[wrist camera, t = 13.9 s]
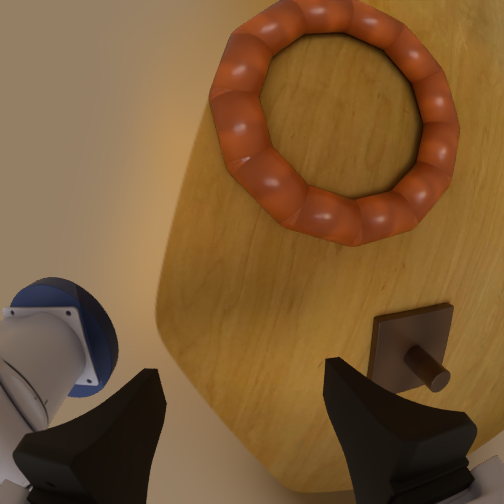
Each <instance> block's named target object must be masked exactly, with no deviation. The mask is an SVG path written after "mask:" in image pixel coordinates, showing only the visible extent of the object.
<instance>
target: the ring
mask: <svg viewBox="0 0 504 504" xmlns="http://www.w3.org/2000/svg"><path fill="white" fill-rule="evenodd" d="M330 32H345V33H347V34H349V35H352V36H354V37H356V38H358V39H361V40H363V41H365V42H367V43H369V44H371V45H374V46H376V47H378V48H380V49H382V50H383V51H384V52H385V53H386V54H387V55H388V56H389V57H390V58H391V60H392V61H393V62H394V63H395V64H396V65H397V67H398V68H399V69H400V70H401V71H402V72H403V74H404V75H405V76H406V77H407V78H408V80H409V81H410V82H411V83H412V86H413V89H414V93H415V96H416V99H417V103H418V106H419V110H420V113H421V117H422V121H423V131H422V136H421V142H420V147H419V152H418V157H417V161H416V164H415V165H414V166H413V167H412V169H411V170H410V171H409V172H408V173H407V174H406V175H405V176H404V177H403V178H402V180H401V181H400V182H399V183H398V184H397V185H396V186H395V187H394V188H393V189H392V190H391V191H388V192H384V193H380V194H376V195H371V196H367V197H363V198H359V199H355V200H352V199H349V198H346V197H343V196H341V195H338V194H335V193H332V192H329V191H326V190H323V189H320V188H317V187H314V186H311V185H308V183H307V182H306V181H305V180H304V179H303V178H302V177H301V176H300V175H299V174H298V173H297V172H296V170H295V169H294V168H293V167H292V166H291V165H290V164H289V163H288V162H287V161H286V160H285V159H284V158H283V157H282V156H281V155H280V154H279V153H278V151H277V150H276V149H275V148H274V147H273V146H272V143H271V139H270V135H269V131H268V128H267V124H266V120H265V117H264V113H263V110H262V106H261V102H260V99H259V96H260V93H261V90H262V87H263V84H264V80H265V77H266V74H267V71H268V68H269V65H270V62H271V59H272V57H273V56H274V55H275V54H276V53H278V52H279V51H281V50H282V49H283V48H285V47H286V46H287V45H289V44H290V43H291V42H293V41H294V40H296V39H297V38H299V37H300V36H301V35H303V34H312V33H330ZM209 104H210V107H211V111H212V115H213V119H214V123H215V127H216V131H217V134H218V138H219V142H220V146H221V150H222V154H223V157H224V161H225V165H226V168H227V170H228V172H229V173H230V174H231V175H232V176H233V177H234V178H235V179H236V180H237V181H238V182H239V184H240V185H241V186H242V187H243V188H244V189H245V190H246V191H247V192H248V193H249V194H250V195H251V196H252V197H253V198H254V199H255V200H256V201H257V202H258V203H259V204H260V205H261V206H262V207H263V208H264V209H265V210H266V211H267V212H268V213H269V214H270V215H271V216H272V217H273V218H274V219H275V220H276V221H277V222H278V223H279V224H280V225H281V226H283V227H284V228H286V229H289V230H293V231H296V232H300V233H303V234H307V235H310V236H314V237H317V238H321V239H324V240H328V241H331V242H334V243H338V244H341V245H345V246H349V247H356V246H360V245H364V244H367V243H371V242H374V241H377V240H381V239H384V238H387V237H391V236H394V235H397V234H401V233H404V232H407V231H410V230H412V229H414V228H415V227H416V226H417V225H418V224H419V223H420V221H421V220H422V219H423V218H424V217H425V216H426V214H427V213H428V212H429V211H430V210H431V208H432V207H433V206H434V205H435V204H436V202H437V201H438V200H439V199H440V197H441V196H442V195H443V194H444V193H445V191H446V190H447V189H448V187H449V186H450V184H451V181H452V176H453V171H454V165H455V160H456V154H457V148H458V141H459V134H460V124H459V120H458V116H457V112H456V109H455V105H454V101H453V98H452V94H451V91H450V88H449V85H448V82H447V79H446V76H445V73H444V71H443V69H442V68H441V66H440V65H439V64H438V62H437V61H436V60H435V59H434V57H433V56H432V55H431V54H430V52H429V51H428V50H427V49H426V47H425V46H424V45H423V44H422V43H421V42H420V40H419V39H418V38H417V37H416V36H415V35H414V34H413V32H412V31H411V30H410V29H409V28H408V27H407V26H406V25H405V24H404V23H402V22H400V21H399V20H397V19H395V18H393V17H391V16H389V15H387V14H385V13H383V12H381V11H379V10H377V9H375V8H373V7H371V6H369V5H367V4H365V3H363V2H360V1H358V0H280V1H278V2H276V3H275V4H273V5H271V6H270V7H268V8H267V9H265V10H264V11H262V12H260V13H259V14H258V15H256V16H255V17H253V18H251V19H250V20H249V21H247V22H246V23H244V24H243V25H241V26H240V27H239V28H237V29H236V30H235V31H234V32H233V33H232V34H231V36H230V37H229V40H228V42H227V45H226V48H225V50H224V53H223V56H222V58H221V61H220V64H219V66H218V69H217V72H216V75H215V78H214V80H213V83H212V86H211V89H210V93H209Z"/></svg>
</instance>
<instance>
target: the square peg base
mask: <svg viewBox="0 0 504 504" xmlns="http://www.w3.org/2000/svg"><path fill="white" fill-rule="evenodd" d="M453 309H454V306H453V305H451V304H449V303H444V304H440V305H435V306H431V307H426V308H421V309H417V310H412V311H407V312H401V313H396V314H391V315H385V316H380V317H375V318H374V325H373V335H372V344H371V352H370V360H369V367H368V374H367V378H368V379H370V380H371V381H373V382H374V383H376V384H378V385H379V386H381V387H383V388H384V389H386V390H388V391H390V392H392V393H394V394H397V393H400V392H403V391H407V390H410V389H413V388H416V387H419V386H422V385H426V386H427V387H428V388H429V389H430V390H431V391H432V392H439V391H441V390H442V389H443V388H444V387H445V386H446V385H447V384H448V382H449V380H450V372H449V371H448V370H447V369H445V368H444V367H443V366H442V362H443V358H444V354H445V350H446V345H447V341H448V336H449V331H450V326H451V321H452V315H453Z"/></svg>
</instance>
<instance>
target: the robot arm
mask: <svg viewBox="0 0 504 504" xmlns="http://www.w3.org/2000/svg"><path fill="white" fill-rule="evenodd" d="M13 311H14V313H13ZM68 311H70V312H71V314H69V313H68ZM3 314H4V318H5V319H3V320H2V321H0V504H146V499H147V489H148V482H149V475H150V469H151V464H152V460H153V457H154V453H155V450H156V447H157V444H158V440H159V437H160V433H161V430H162V427H163V424H164V419H165V412H166V405H167V403H166V400H165V396H164V392H163V389H162V385H161V381H160V377H159V373H158V369H145V368H144V369H143V370H142V371H141V372H139V373H138V374H137V375H136V376H135V377H134V378H133V379H131V380H130V381H129V382H128V383H127V384H126V385H124V386H123V387H122V388H121V389H120V390H119V391H117V392H116V393H115V394H113V395H112V396H111V397H109V398H108V399H107V400H106V401H105V402H103V403H101V404H100V405H99V406H97V407H96V408H94V409H92V410H90V411H89V412H87V413H85V414H83V415H81V416H79V417H77V418H75V419H73V420H71V421H69V422H66V423H64V424H61V425H59V426H55V427H52V428H48V426H49V424H50V423H51V421H52V419H53V418H54V416H55V415H56V413H57V411H58V410H59V408H60V406H61V405H62V403H63V402H64V400H65V399H66V397H67V396H68V394H69V392H70V391H71V389H72V388H73V386H74V385H75V384H79V385H92V386H97V385H98V384H99V382H100V380H99V377H98V374H97V371H96V368H95V365H94V362H93V359H92V355H91V352H90V349H89V345H88V342H87V338H86V335H85V331H84V327H83V324H82V320H81V316H80V312H79V309H78V308H77V307H74V306H65V307H5V308H3ZM89 379H90V380H91V381H89ZM323 397H324V401H325V405H326V409H327V413H328V415H329V418H330V420H331V423H332V425H333V428H334V430H335V432H336V435H337V437H338V440H339V442H340V444H341V447H342V449H343V452H344V455H345V457H346V461H347V465H348V468H349V472H350V476H351V480H352V484H353V489H354V493H355V498H356V503H357V504H504V463H503V462H502V461H501V460H500V458H499V457H498V456H497V455H496V456H493V457H492V458H490V459H488V460H486V461H484V462H483V463H481V464H479V465H477V466H476V467H475V468H473V469H472V470H471V471H469V470H468V468H467V467H466V466H468V464H469V461H468V460H467V458H466V457H465V456H466V455H467V453H468V451H469V449H470V448H471V446H472V444H473V442H474V440H475V438H476V435H477V427H476V425H475V424H474V423H473V421H472V420H471V419H470V418H469V417H468V416H467V414H466V413H465V412H459V411H450V410H443V409H438V408H433V407H429V406H425V405H422V404H419V403H416V402H413V401H410V400H407V399H405V398H402V397H400V396H398V395H396V394H394V393H392V392H390V391H388V390H386V389H384V388H383V387H381V386H379V385H378V384H376V383H374V382H373V381H371V380H370V379H368V378H367V377H365V376H364V375H362V374H361V373H360V372H358V371H357V370H356V369H354V368H353V367H352V366H350V365H349V364H348V363H347V362H345V361H344V360H343V359H341V358H340V357H335V358H328V359H325V374H324V387H323Z"/></svg>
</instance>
